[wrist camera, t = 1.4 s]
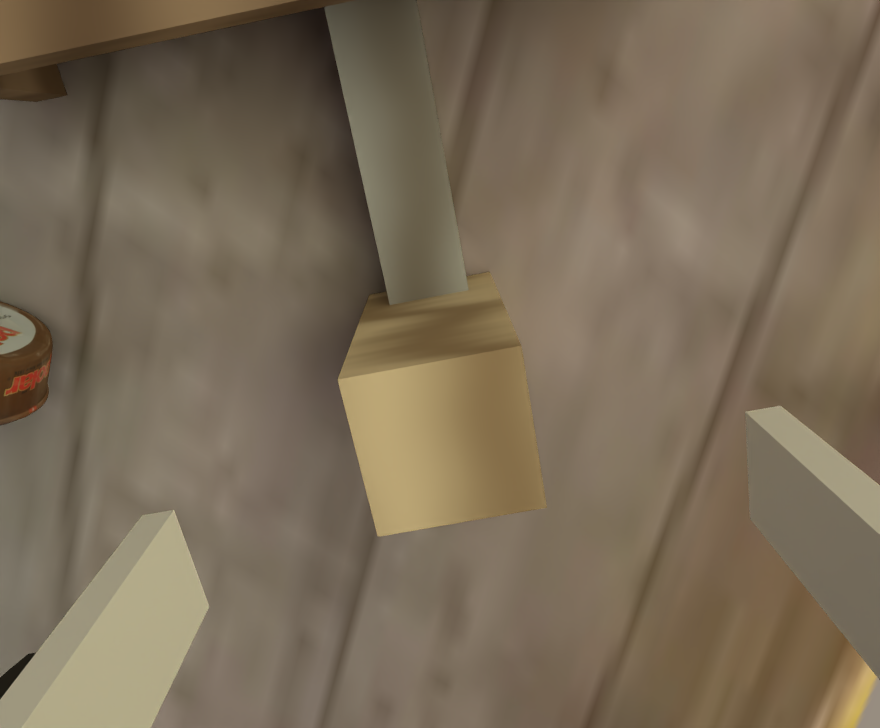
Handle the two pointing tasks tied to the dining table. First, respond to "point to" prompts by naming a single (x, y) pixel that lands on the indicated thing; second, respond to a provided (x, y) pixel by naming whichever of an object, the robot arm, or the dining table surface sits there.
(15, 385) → the tin
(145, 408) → the dining table surface
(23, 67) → the shelf
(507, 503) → the tool
